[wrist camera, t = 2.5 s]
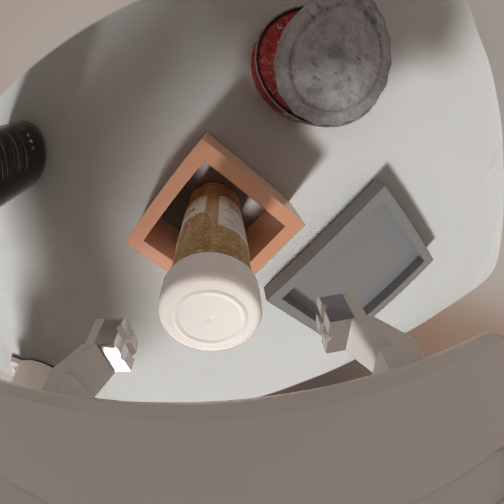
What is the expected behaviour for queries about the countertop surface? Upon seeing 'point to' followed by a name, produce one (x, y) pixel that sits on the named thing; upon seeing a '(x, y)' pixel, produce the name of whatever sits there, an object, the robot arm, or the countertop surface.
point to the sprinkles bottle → (211, 275)
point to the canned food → (323, 61)
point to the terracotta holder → (240, 174)
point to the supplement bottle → (19, 159)
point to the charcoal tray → (353, 259)
